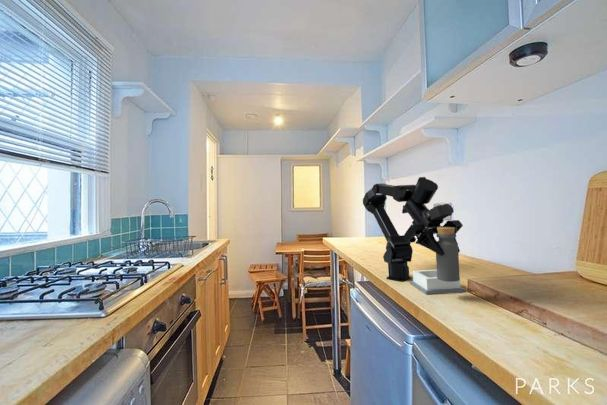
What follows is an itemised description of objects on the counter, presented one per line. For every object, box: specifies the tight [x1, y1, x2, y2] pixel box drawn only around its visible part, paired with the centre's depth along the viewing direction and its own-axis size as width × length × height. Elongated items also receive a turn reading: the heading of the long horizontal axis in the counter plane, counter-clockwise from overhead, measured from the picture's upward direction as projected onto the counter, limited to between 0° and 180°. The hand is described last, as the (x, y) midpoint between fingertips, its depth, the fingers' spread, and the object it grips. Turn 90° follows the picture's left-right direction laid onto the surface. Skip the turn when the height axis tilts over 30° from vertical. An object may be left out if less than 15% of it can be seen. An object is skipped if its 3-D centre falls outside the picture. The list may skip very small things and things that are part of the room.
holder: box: [409, 268, 466, 295], centre depth 93 cm, size 12×12×4 cm
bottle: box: [435, 227, 460, 282], centre depth 83 cm, size 6×6×15 cm
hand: (450, 253), depth 82 cm, fingers closed on bottle, 6 cm apart
